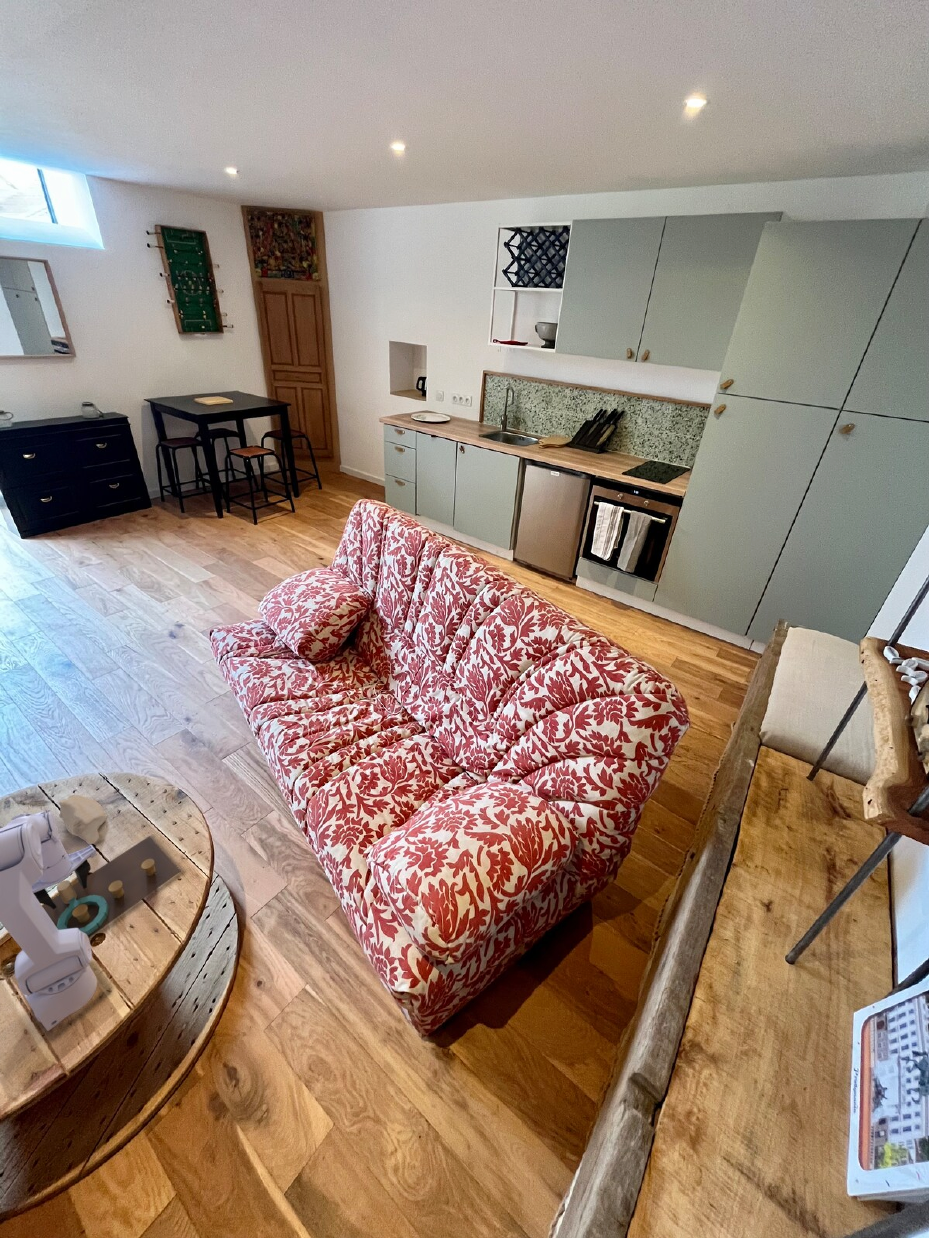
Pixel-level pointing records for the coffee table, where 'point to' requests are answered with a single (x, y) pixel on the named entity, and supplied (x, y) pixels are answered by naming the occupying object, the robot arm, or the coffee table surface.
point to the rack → (119, 884)
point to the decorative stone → (82, 817)
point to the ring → (70, 898)
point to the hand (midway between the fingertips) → (68, 895)
